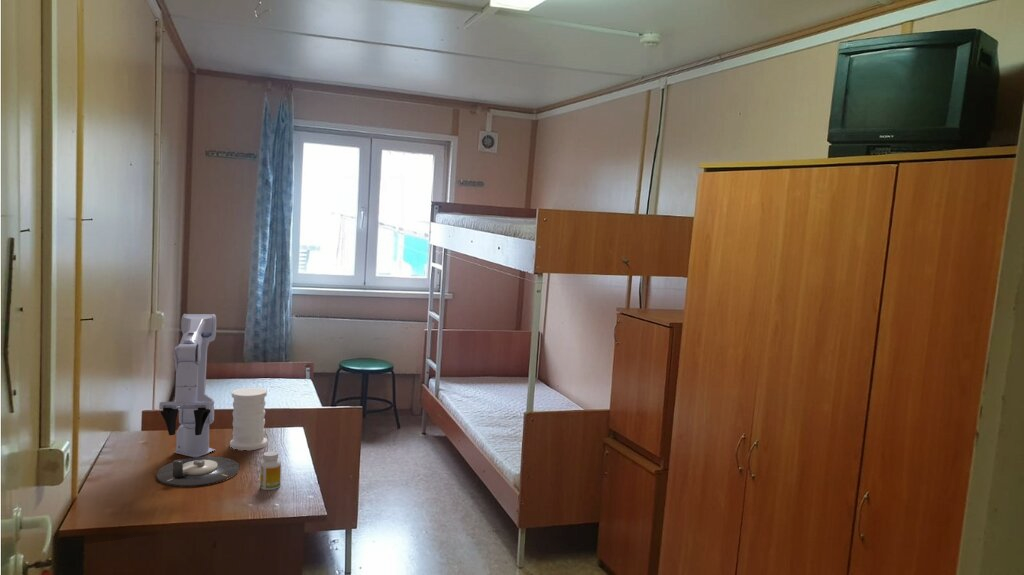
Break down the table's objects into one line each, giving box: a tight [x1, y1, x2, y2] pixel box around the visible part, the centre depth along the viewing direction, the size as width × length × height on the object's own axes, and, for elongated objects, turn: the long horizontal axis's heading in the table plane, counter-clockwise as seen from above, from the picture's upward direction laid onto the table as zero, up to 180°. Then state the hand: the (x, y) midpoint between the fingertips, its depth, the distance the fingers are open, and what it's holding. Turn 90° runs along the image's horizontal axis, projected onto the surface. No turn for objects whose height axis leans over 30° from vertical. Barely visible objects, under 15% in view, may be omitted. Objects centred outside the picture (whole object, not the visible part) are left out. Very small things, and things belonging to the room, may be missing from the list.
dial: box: [172, 459, 218, 477], centre depth 204 cm, size 14×10×5 cm
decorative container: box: [229, 387, 268, 451], centre depth 231 cm, size 12×12×18 cm
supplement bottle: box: [259, 450, 282, 491], centre depth 198 cm, size 5×5×10 cm
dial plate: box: [156, 456, 240, 488], centre depth 206 cm, size 22×22×1 cm
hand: (185, 435), depth 198 cm, fingers open, 7 cm apart
